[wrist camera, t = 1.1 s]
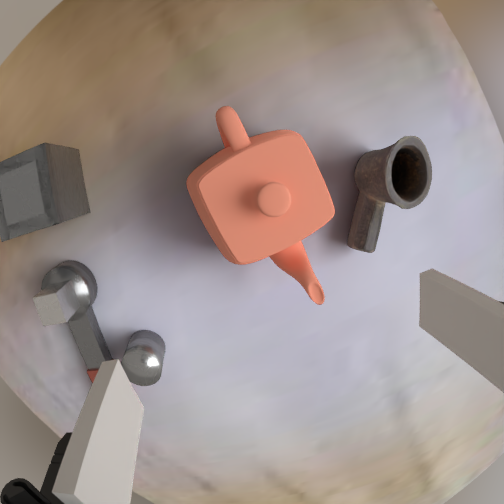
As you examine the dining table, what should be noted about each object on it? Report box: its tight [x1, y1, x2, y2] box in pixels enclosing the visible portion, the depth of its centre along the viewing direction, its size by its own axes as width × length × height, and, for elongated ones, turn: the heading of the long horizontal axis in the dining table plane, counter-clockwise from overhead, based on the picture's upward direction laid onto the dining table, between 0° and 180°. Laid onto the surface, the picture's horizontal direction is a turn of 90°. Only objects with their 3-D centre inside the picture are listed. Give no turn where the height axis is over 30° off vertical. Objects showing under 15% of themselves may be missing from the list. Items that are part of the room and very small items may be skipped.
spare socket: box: [121, 330, 165, 386], centre depth 32 cm, size 4×4×5 cm
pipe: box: [347, 136, 432, 253], centre depth 30 cm, size 6×13×8 cm, turn 167°
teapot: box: [186, 106, 335, 305], centre depth 27 cm, size 12×18×10 cm, turn 27°
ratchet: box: [33, 261, 114, 383], centre depth 29 cm, size 19×6×7 cm, turn 10°
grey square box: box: [0, 143, 90, 242], centre depth 24 cm, size 7×7×8 cm
